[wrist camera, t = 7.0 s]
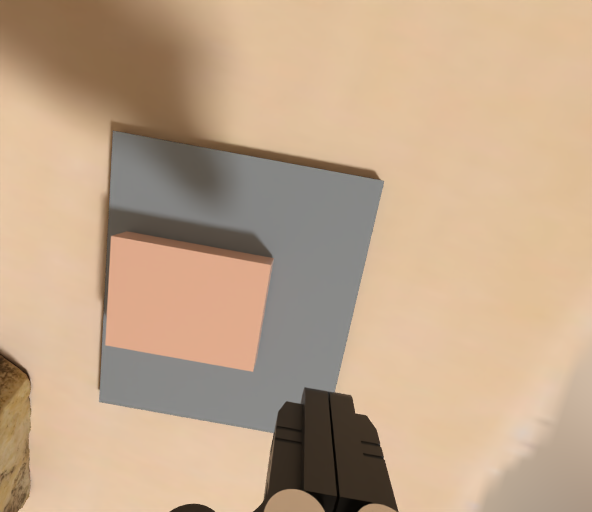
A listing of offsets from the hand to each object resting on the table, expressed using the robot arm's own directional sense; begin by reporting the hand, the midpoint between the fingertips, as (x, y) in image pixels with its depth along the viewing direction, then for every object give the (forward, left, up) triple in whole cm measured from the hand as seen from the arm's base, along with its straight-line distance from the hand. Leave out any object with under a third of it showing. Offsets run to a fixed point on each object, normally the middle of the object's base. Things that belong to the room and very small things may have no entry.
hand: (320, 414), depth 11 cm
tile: (0, -3, -7) cm, 8 cm away
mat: (0, -5, -9) cm, 10 cm away
